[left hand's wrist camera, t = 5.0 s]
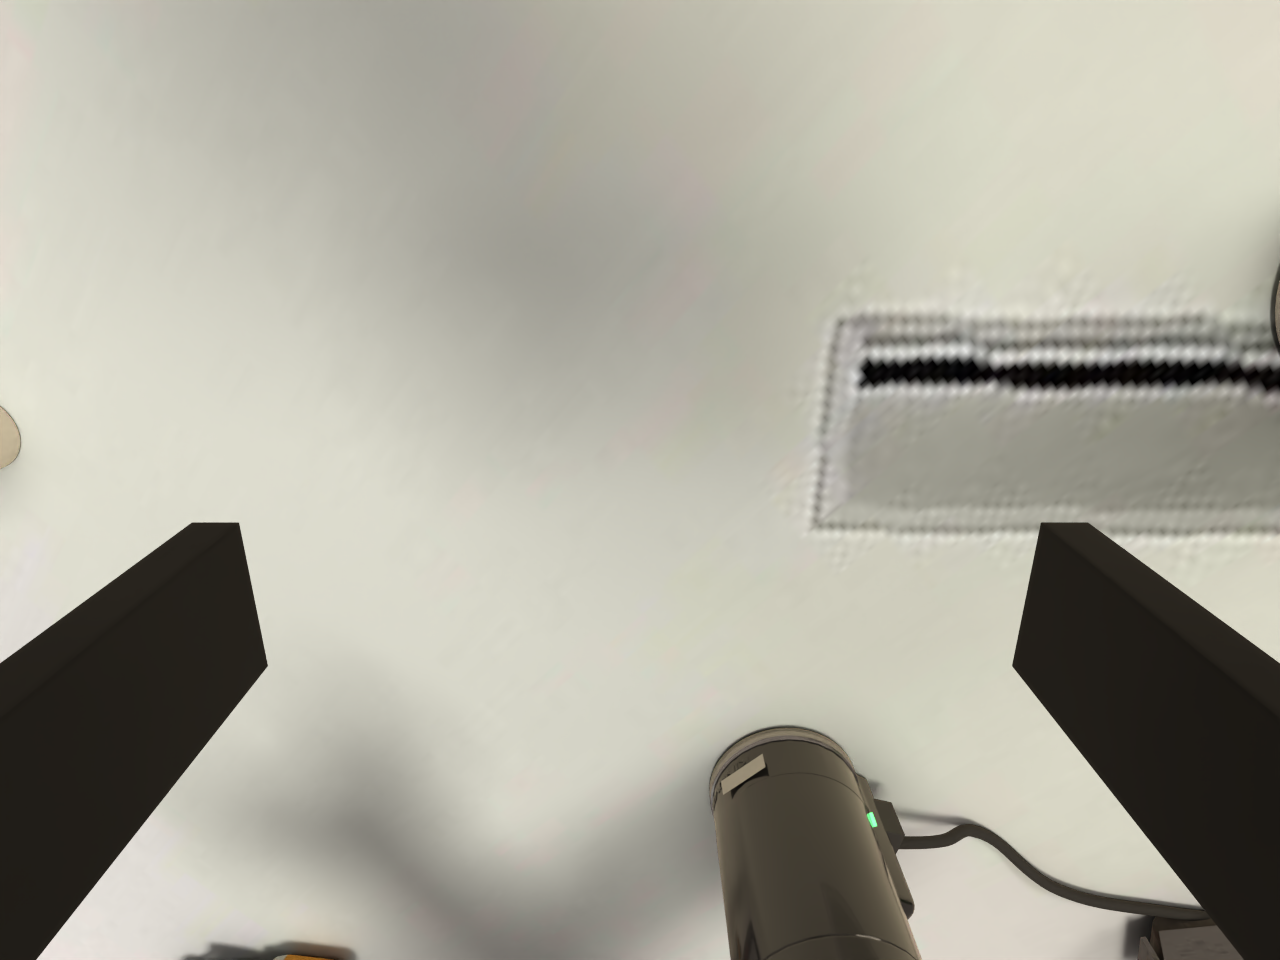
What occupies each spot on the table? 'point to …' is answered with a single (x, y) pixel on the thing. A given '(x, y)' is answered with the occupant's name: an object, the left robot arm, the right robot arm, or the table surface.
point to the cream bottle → (8, 439)
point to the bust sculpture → (1278, 312)
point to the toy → (1186, 941)
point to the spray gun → (297, 958)
